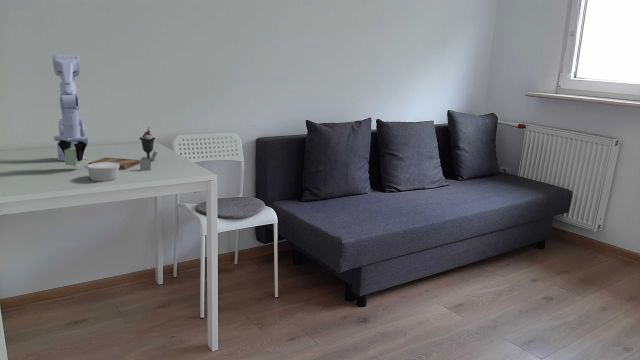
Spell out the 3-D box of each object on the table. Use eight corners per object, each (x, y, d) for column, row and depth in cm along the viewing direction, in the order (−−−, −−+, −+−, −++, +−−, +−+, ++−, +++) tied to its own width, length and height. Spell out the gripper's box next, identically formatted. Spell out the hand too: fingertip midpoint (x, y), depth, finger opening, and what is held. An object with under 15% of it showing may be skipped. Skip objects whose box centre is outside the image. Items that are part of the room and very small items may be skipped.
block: (65, 165, 198) (64, 150, 196) (72, 162, 202) (71, 147, 201) (76, 165, 197) (74, 150, 196) (83, 163, 202) (81, 148, 200)
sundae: (151, 162, 217) (150, 128, 213) (137, 161, 218) (135, 127, 214) (159, 159, 223) (158, 126, 219) (145, 158, 224) (144, 125, 221)
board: (88, 166, 206) (88, 163, 205) (105, 160, 217) (104, 157, 217) (125, 169, 203) (124, 165, 203) (139, 163, 215) (139, 159, 215)
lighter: (140, 170, 203) (139, 150, 201) (140, 169, 205) (139, 150, 203) (158, 169, 206) (157, 150, 204) (158, 168, 207) (157, 149, 205)
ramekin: (86, 176, 191) (85, 162, 190) (117, 174, 196) (117, 160, 195) (89, 183, 182) (88, 169, 180) (122, 180, 187) (121, 166, 186)
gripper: (47, 126, 193) (50, 160, 196) (82, 128, 191) (85, 163, 194) (59, 123, 200) (62, 156, 203) (93, 125, 198) (95, 159, 201)
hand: (74, 159), depth 199 cm, fingers closed on block, 4 cm apart
